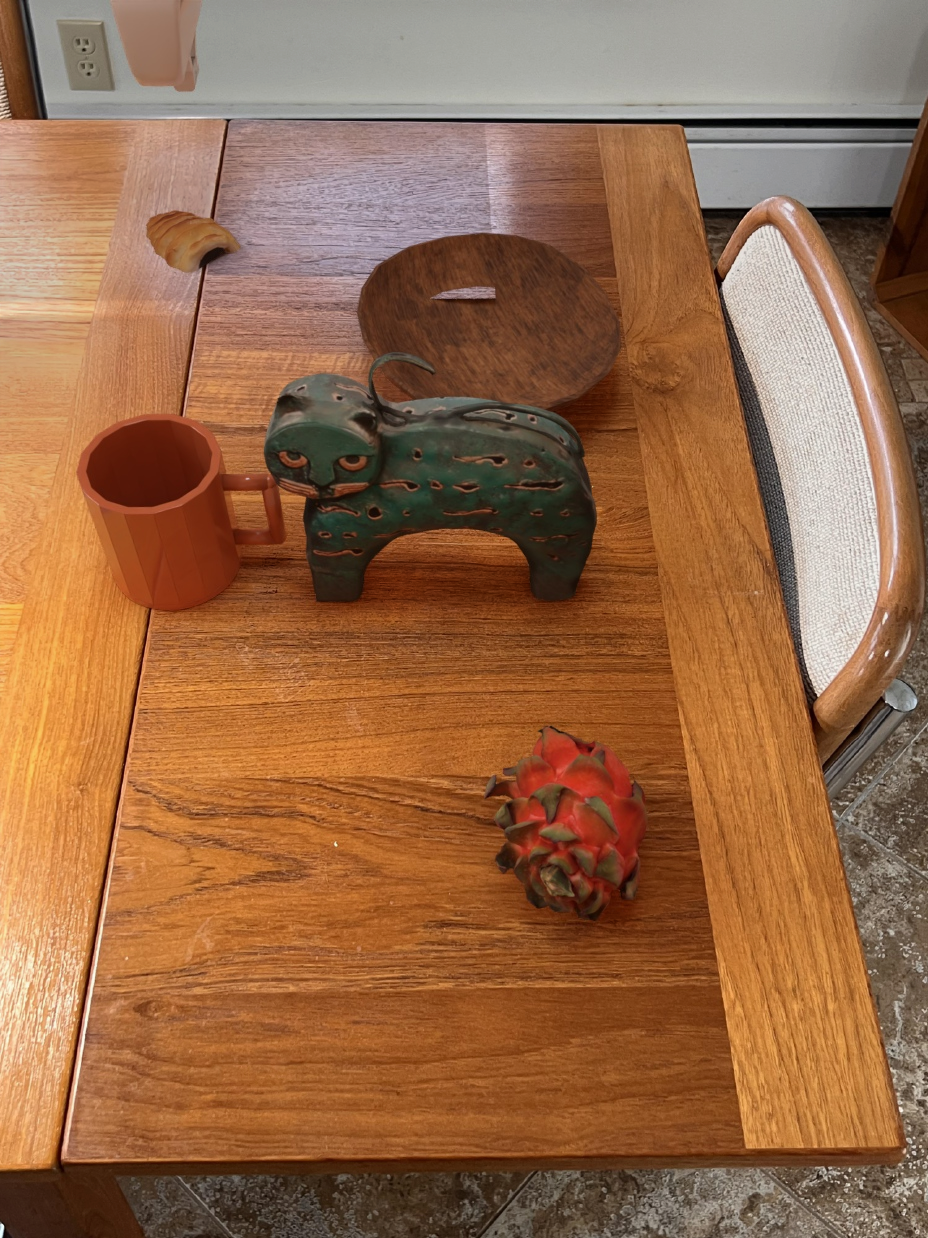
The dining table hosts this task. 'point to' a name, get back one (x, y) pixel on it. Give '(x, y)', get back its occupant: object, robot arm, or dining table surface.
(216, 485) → the mug
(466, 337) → the bowl
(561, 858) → the dragon fruit
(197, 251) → the pastry
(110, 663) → the dining table surface
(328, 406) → the ceramic cat
